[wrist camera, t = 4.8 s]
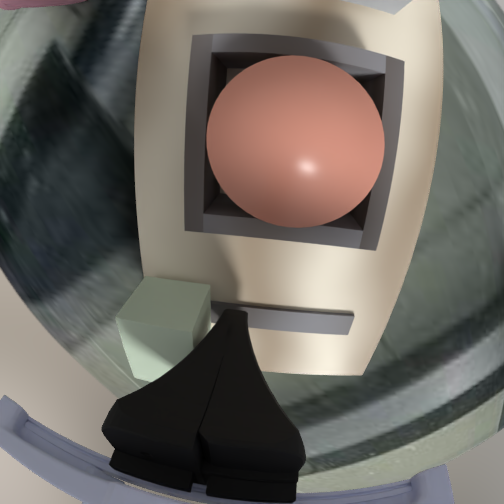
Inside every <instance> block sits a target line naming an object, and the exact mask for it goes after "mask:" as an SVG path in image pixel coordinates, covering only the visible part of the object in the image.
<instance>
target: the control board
mask: <svg viewBox="0 0 504 504" xmlns="http://www.w3.org/2000/svg"><path fill="white" fill-rule="evenodd" d="M290 55H295V56H307V57H312V58H317V59H320V60H323V61H326V62H329V63H331V64H333V65H335V66H337V67H339V68H341V69H342V70H344V71H345V72H347V73H348V74H349V75H351V76H352V77H353V78H354V79H355V80H356V81H358V82H359V83H360V85H361V86H362V87H363V88H364V89H365V90H366V91H367V93H368V94H369V96H370V97H371V99H372V100H373V102H374V104H375V106H376V108H377V110H378V112H379V115H380V118H381V121H382V126H383V131H384V142H385V148H384V158H383V162H382V167H381V170H380V172H379V175H378V178H377V180H376V182H375V183H374V185H373V187H372V189H371V190H370V191H369V193H368V194H367V196H366V197H365V198H364V199H363V200H362V201H361V202H360V203H359V204H358V205H357V206H356V207H355V208H354V209H352V210H351V211H350V212H348V213H347V214H345V215H343V216H342V217H340V218H338V219H336V220H334V221H331V222H328V223H325V224H322V225H318V226H313V227H303V228H293V227H284V226H278V225H274V224H271V223H267V222H265V221H262V220H260V219H258V218H256V217H254V216H252V215H250V214H249V213H247V212H246V211H244V210H243V209H242V208H240V207H239V206H238V205H237V204H235V203H234V202H233V201H232V200H231V199H230V198H229V197H228V195H227V194H226V193H225V192H224V190H223V189H222V188H221V186H220V184H219V183H218V181H217V179H216V177H215V175H214V173H213V171H212V168H211V165H210V161H209V158H208V152H207V140H206V134H207V126H208V121H209V117H210V113H211V111H212V108H213V106H214V104H215V101H216V100H217V98H218V96H219V95H220V93H221V92H222V90H223V89H224V88H225V87H226V85H227V84H228V83H229V82H230V81H231V80H232V79H233V78H234V77H235V76H236V75H238V74H239V73H240V72H242V71H243V70H245V69H246V68H248V67H250V66H252V65H254V64H256V63H258V62H261V61H263V60H266V59H269V58H274V57H279V56H290ZM442 94H443V41H442V26H441V16H440V7H439V0H412V1H411V2H410V3H408V4H407V5H406V6H405V7H403V8H402V9H401V10H400V11H398V12H397V13H396V14H395V15H393V14H390V13H387V12H384V11H380V10H377V9H374V8H370V7H366V6H363V5H359V4H355V3H350V2H346V1H341V0H147V5H146V11H145V16H144V22H143V29H142V36H141V43H140V51H139V60H138V70H137V83H136V98H135V124H134V164H135V191H136V208H137V221H138V232H139V242H140V251H141V259H142V267H143V274H144V278H145V276H149V277H156V278H163V279H170V280H178V281H185V282H193V283H201V284H209V285H210V292H211V329H212V327H213V326H214V325H215V323H216V322H217V321H218V319H219V318H220V316H221V315H222V313H223V311H224V310H225V309H234V310H242V311H246V312H247V313H248V329H249V334H250V339H251V343H252V347H253V350H254V354H255V356H256V359H257V362H258V365H259V367H260V370H261V371H268V372H280V373H294V374H314V375H362V374H363V372H364V370H365V369H366V367H367V365H368V363H369V361H370V359H371V357H372V355H373V353H374V351H375V348H376V346H377V344H378V342H379V340H380V338H381V336H382V333H383V331H384V329H385V327H386V324H387V322H388V320H389V317H390V315H391V313H392V310H393V308H394V305H395V303H396V300H397V298H398V295H399V292H400V290H401V287H402V284H403V282H404V279H405V276H406V273H407V270H408V267H409V264H410V261H411V258H412V255H413V252H414V249H415V245H416V242H417V239H418V235H419V232H420V228H421V224H422V220H423V217H424V213H425V209H426V204H427V200H428V196H429V191H430V186H431V181H432V176H433V171H434V165H435V159H436V153H437V146H438V139H439V130H440V121H441V109H442Z"/></svg>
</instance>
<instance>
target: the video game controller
mask: <svg viewBox="0 0 504 504" xmlns="http://www.w3.org/2000/svg"><path fill="white" fill-rule="evenodd" d="M83 1H87V0H0V8H1V9H4V10H15V9H19V8H28V7H46V6H60V5H68V4H74V3H80V2H83Z"/></svg>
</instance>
